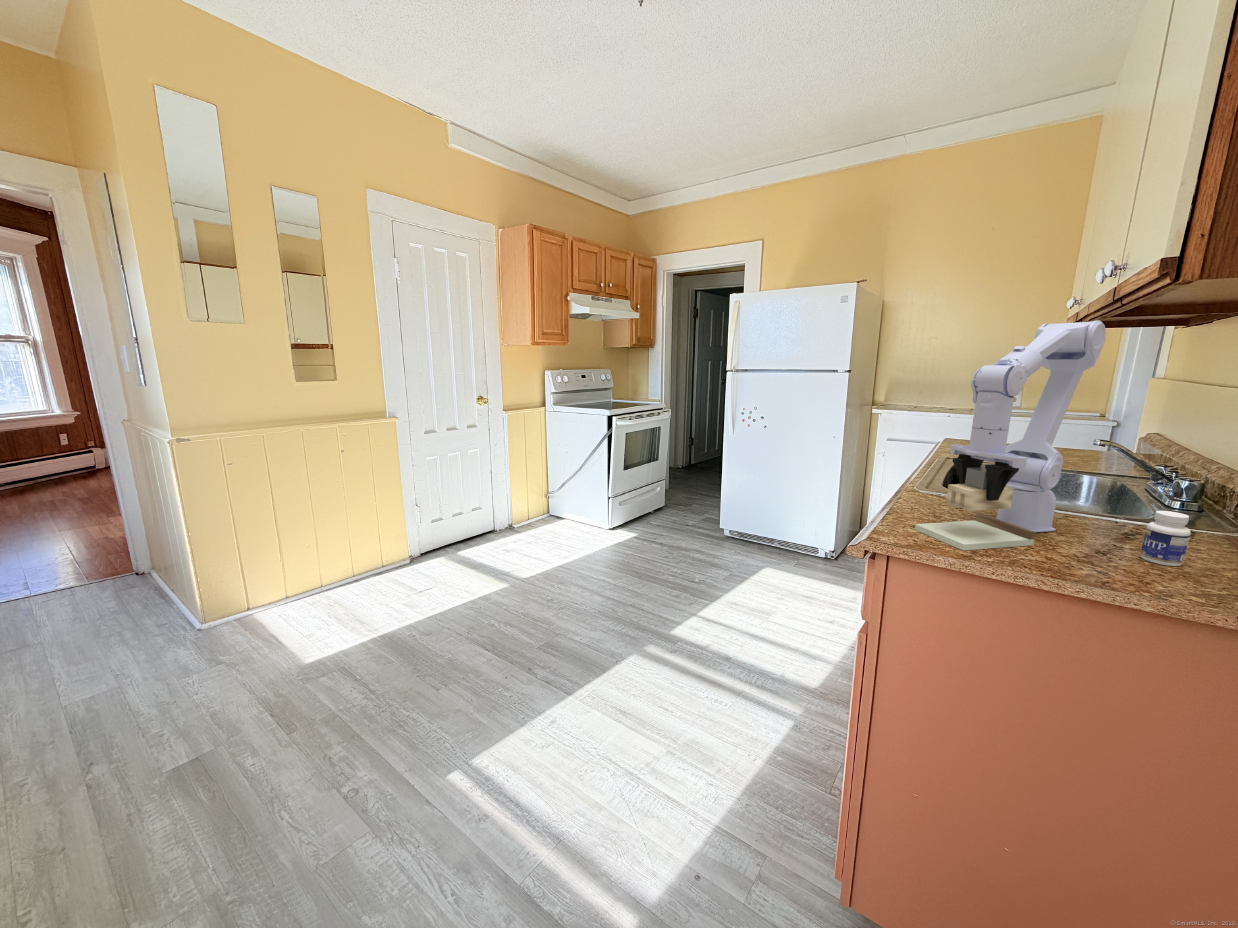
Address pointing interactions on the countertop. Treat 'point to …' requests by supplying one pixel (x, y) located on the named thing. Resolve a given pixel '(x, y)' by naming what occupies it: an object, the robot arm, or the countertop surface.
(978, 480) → the gray cube
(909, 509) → the countertop surface
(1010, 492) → the pallet
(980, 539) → the pale green flat slab
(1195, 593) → the countertop surface
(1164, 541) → the pill bottle
